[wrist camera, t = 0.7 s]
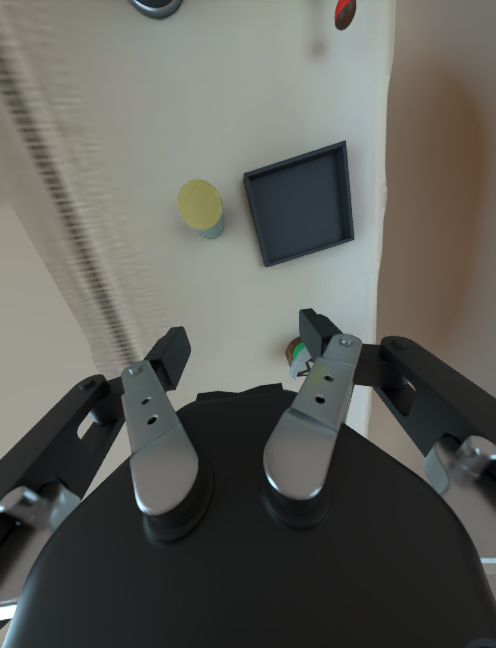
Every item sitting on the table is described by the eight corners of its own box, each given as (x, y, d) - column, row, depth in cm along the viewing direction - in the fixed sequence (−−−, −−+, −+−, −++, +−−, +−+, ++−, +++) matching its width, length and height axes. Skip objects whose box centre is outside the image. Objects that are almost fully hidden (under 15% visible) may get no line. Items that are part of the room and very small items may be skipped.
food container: (333, 330, 42) (361, 349, 33) (328, 353, 44) (354, 378, 35) (281, 330, 41) (295, 350, 32) (279, 354, 43) (292, 379, 34)
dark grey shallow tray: (243, 180, 32) (243, 173, 29) (337, 149, 31) (346, 140, 29) (264, 266, 36) (266, 267, 34) (346, 241, 36) (354, 239, 34)
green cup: (188, 209, 32) (169, 187, 23) (219, 199, 32) (213, 172, 23) (200, 243, 34) (187, 235, 25) (229, 234, 34) (227, 222, 25)
